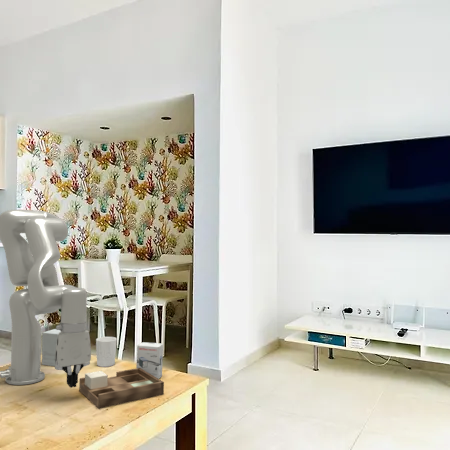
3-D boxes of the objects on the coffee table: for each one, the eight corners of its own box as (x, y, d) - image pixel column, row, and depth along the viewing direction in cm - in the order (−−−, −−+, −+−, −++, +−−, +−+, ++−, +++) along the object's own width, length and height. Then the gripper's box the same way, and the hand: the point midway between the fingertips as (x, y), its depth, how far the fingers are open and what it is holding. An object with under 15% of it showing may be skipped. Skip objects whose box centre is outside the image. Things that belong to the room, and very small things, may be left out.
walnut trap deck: (99, 408, 133) (99, 395, 133) (79, 390, 148) (79, 378, 148) (163, 394, 146) (163, 382, 146) (139, 379, 160) (139, 367, 160)
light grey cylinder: (97, 368, 171) (98, 342, 172) (93, 362, 178) (94, 337, 179) (118, 366, 175) (118, 340, 175) (113, 360, 182) (114, 335, 182)
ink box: (135, 378, 161) (136, 345, 161) (140, 374, 166) (141, 342, 166) (158, 380, 160) (159, 346, 160) (162, 375, 165) (163, 343, 165)
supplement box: (69, 361, 179) (70, 330, 179) (56, 367, 172) (57, 333, 172) (54, 359, 182) (54, 328, 182) (41, 364, 175) (41, 332, 175)
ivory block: (90, 389, 142) (90, 378, 142) (84, 384, 146) (85, 373, 146) (107, 386, 145) (107, 375, 145) (101, 381, 150) (101, 370, 150)
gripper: (52, 332, 134) (50, 394, 134) (100, 327, 143) (99, 385, 143) (45, 327, 140) (44, 387, 140) (92, 322, 149) (91, 378, 149)
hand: (72, 385), depth 141 cm, fingers closed
